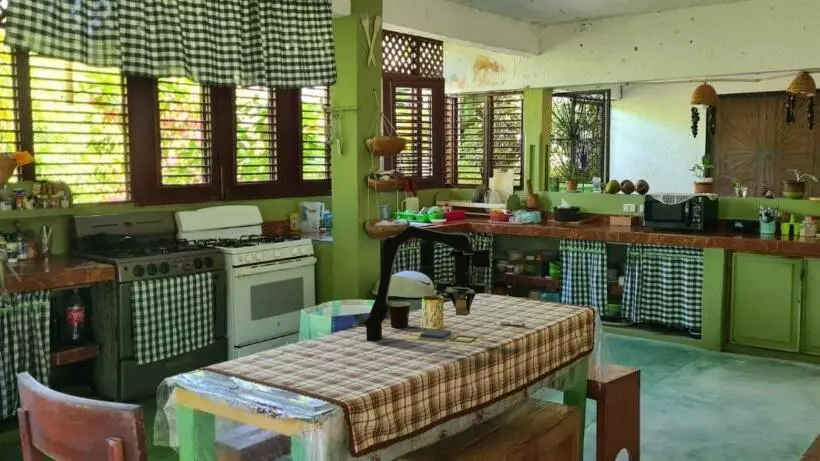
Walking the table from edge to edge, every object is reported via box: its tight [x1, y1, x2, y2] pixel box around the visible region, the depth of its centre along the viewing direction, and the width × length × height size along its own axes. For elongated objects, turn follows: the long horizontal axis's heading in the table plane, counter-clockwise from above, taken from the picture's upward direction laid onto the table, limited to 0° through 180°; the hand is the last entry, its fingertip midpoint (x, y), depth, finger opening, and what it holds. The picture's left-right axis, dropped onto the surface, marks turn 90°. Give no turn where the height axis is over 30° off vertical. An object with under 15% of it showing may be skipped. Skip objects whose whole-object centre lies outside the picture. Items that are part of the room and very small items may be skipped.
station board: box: [401, 330, 486, 347], centre depth 280 cm, size 14×28×1 cm, turn 64°
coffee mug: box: [389, 301, 411, 330], centre depth 302 cm, size 12×9×10 cm
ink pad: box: [418, 328, 455, 341], centre depth 281 cm, size 10×10×2 cm
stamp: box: [455, 294, 471, 317], centre depth 276 cm, size 4×4×7 cm
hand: (462, 310), depth 276 cm, fingers closed on stamp, 4 cm apart
